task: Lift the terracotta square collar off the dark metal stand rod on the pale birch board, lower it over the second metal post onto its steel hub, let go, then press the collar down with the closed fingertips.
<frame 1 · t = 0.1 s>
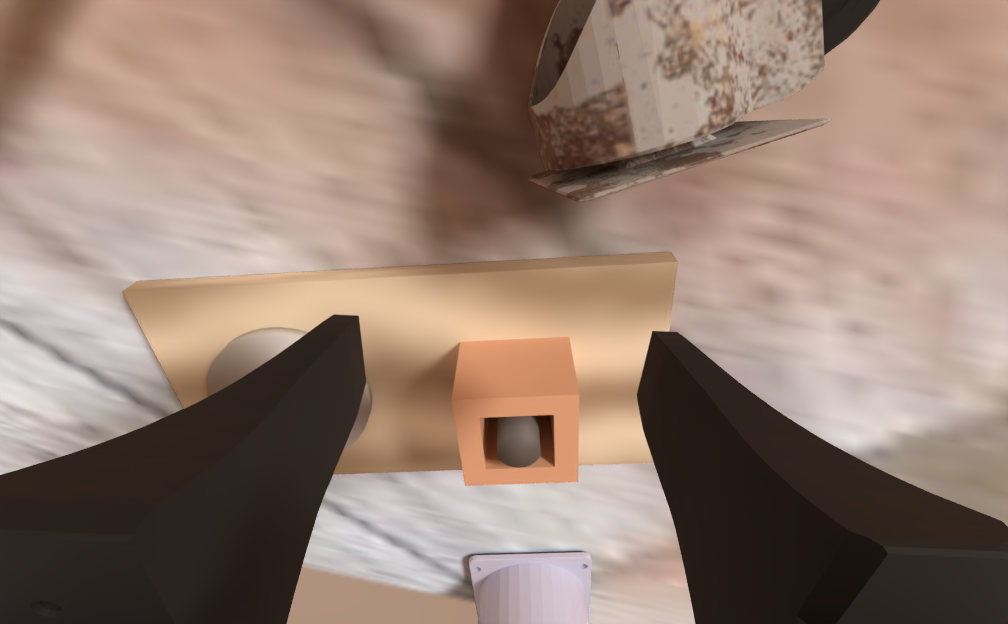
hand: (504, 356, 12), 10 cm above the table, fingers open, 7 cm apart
board: (418, 373, 25), on the table
collar: (517, 381, 24), point 1 cm above the table, touching board
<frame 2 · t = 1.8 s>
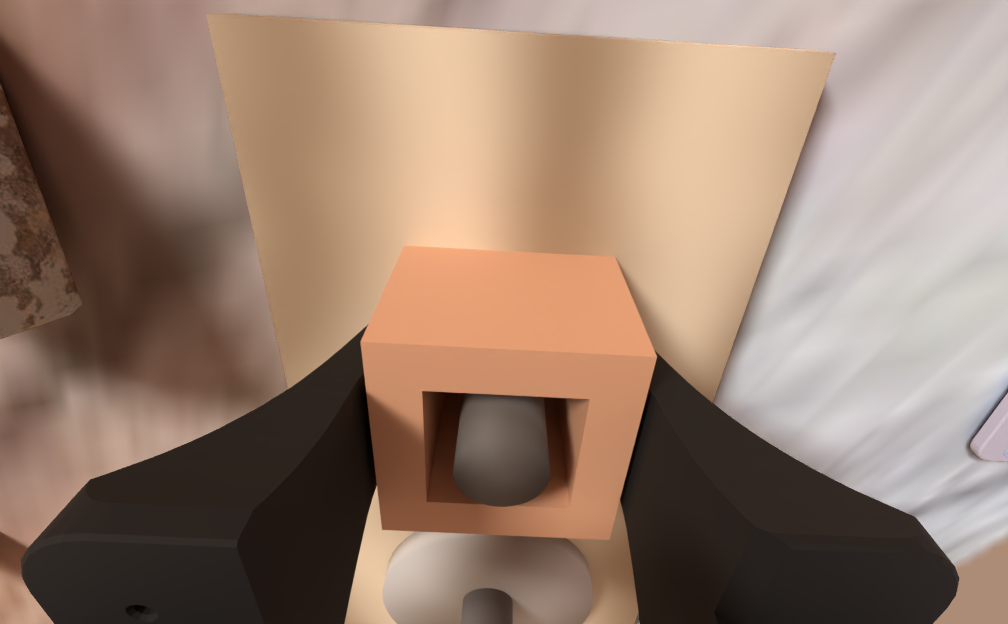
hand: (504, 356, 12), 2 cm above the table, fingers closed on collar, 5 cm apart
board: (496, 446, 17), on the table
collar: (504, 338, 13), point 1 cm above the table, touching board, gripper
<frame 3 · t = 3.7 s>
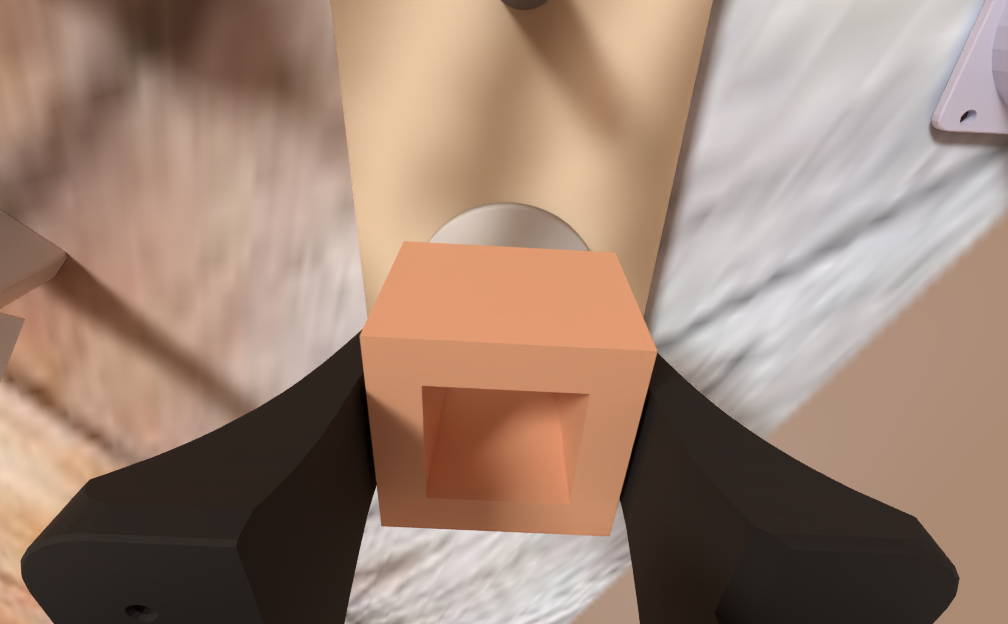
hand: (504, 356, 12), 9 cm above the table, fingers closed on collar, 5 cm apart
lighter: (51, 256, 22), on the table
board: (513, 136, 19), on the table
collar: (504, 334, 13), point 9 cm above the table, touching gripper
when the fingers open (4 cm above the table, at t = 5.7 s): collar drops 1 cm, resting on board.
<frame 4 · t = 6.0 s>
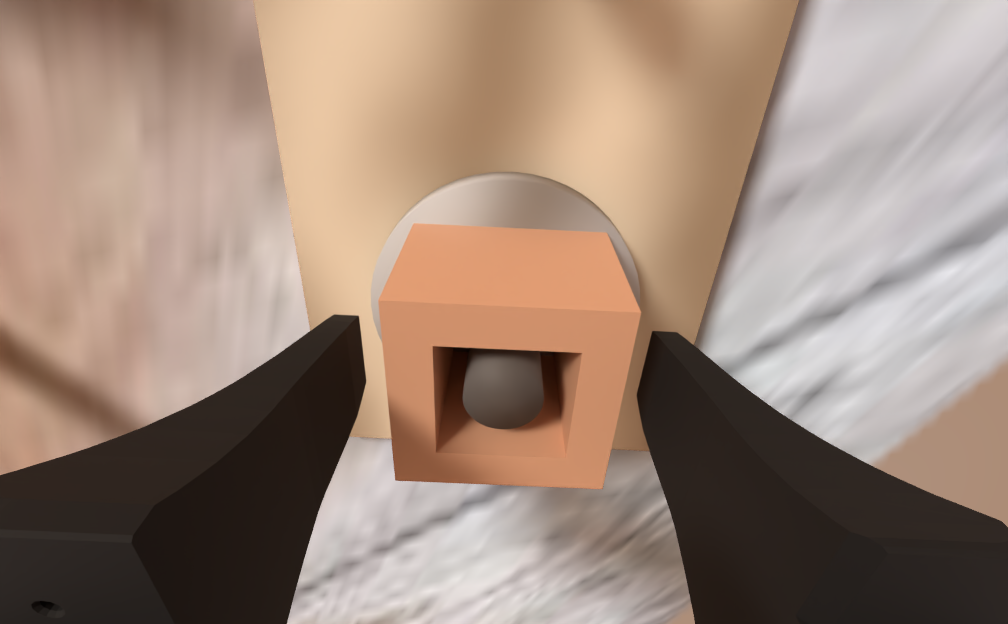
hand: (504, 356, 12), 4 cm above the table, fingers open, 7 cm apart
board: (518, 74, 13), on the table
collar: (505, 310, 14), point 2 cm above the table, touching board
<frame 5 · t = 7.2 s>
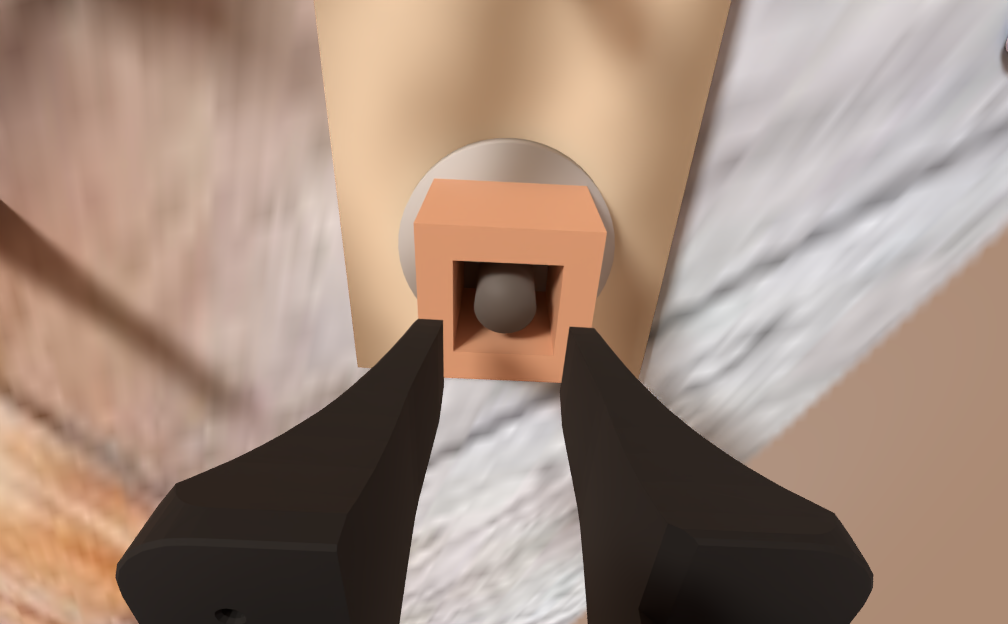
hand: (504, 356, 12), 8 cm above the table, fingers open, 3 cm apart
board: (517, 60, 16), on the table
collar: (506, 252, 18), point 2 cm above the table, touching board
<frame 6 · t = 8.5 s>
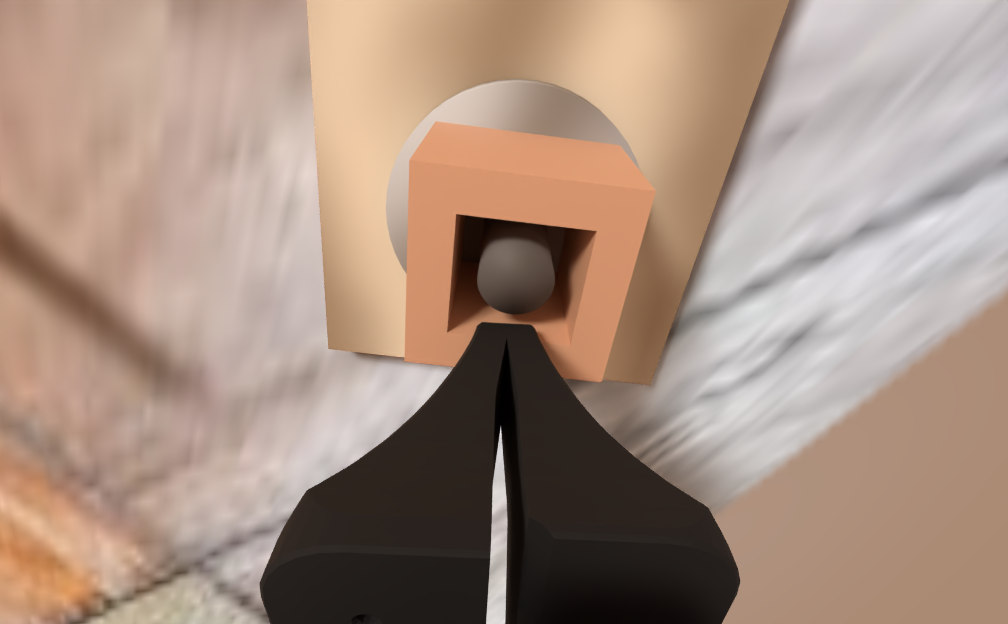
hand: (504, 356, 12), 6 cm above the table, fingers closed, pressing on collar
collar: (516, 220, 15), point 2 cm above the table, touching board, gripper
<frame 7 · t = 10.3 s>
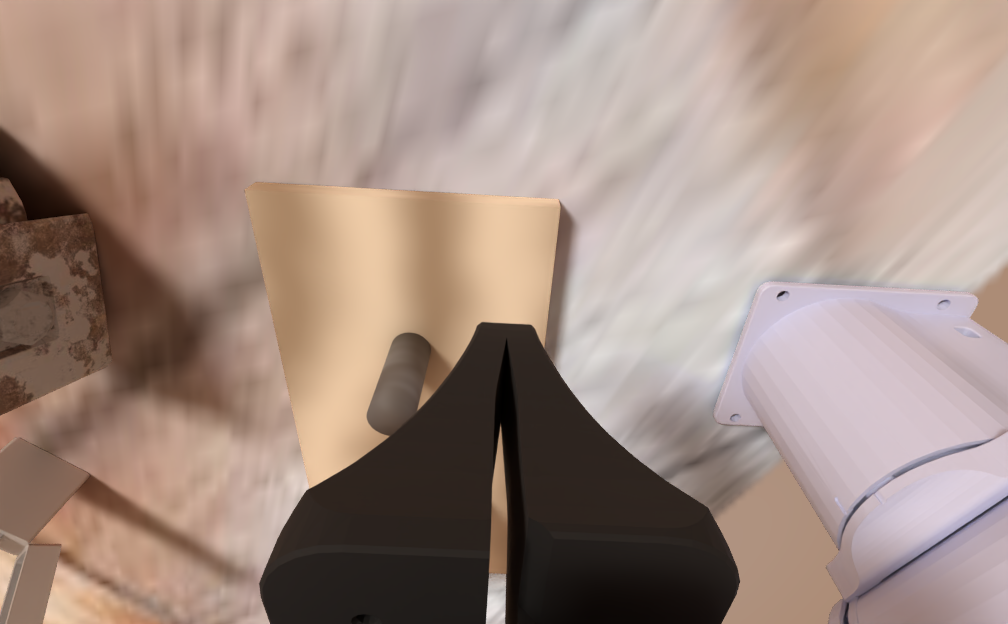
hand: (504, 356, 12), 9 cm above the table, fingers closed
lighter: (77, 473, 29), on the table
board: (418, 416, 26), on the table
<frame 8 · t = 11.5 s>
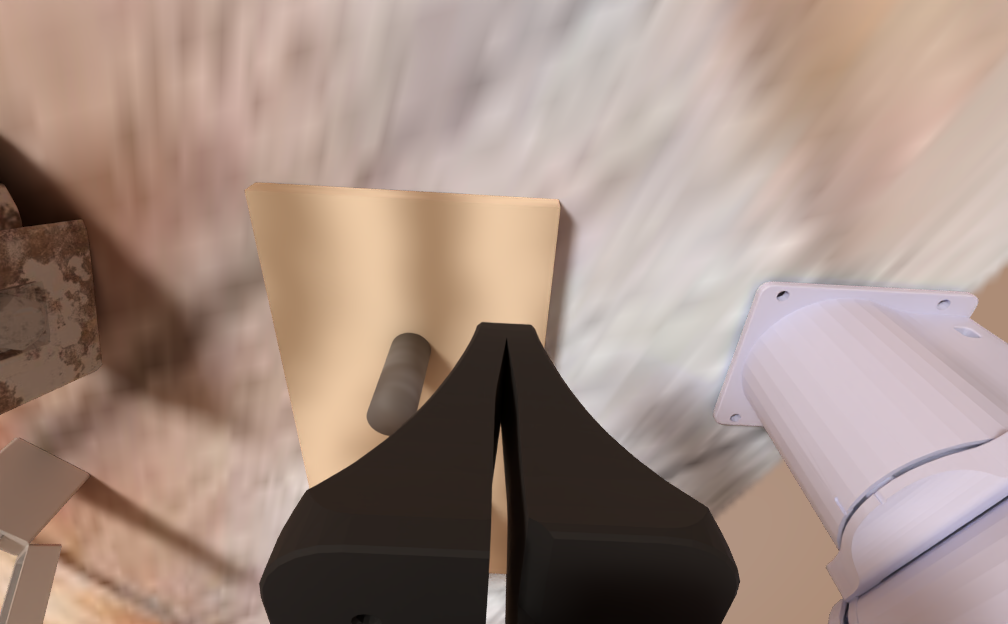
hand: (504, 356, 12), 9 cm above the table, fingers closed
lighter: (77, 474, 29), on the table
board: (418, 416, 26), on the table
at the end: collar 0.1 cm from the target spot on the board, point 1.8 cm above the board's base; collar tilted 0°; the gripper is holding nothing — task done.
